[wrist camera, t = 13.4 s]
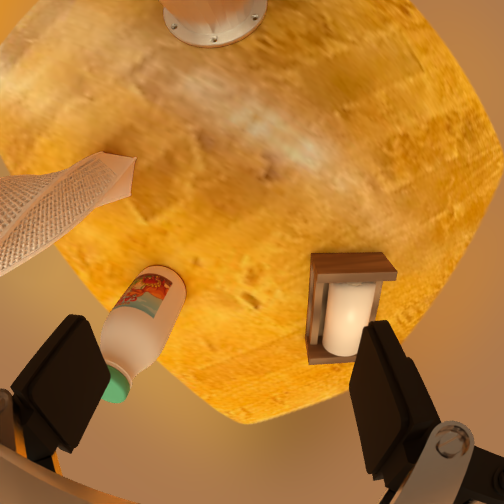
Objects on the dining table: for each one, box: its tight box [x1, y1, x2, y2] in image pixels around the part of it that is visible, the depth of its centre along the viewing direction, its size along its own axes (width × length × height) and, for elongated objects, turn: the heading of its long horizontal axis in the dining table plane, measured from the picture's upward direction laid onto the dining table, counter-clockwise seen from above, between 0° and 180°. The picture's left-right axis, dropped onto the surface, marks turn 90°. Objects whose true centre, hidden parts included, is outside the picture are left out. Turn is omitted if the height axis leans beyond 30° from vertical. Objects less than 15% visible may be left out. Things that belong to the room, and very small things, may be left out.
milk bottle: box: [100, 266, 186, 403], centre depth 32 cm, size 8×8×20 cm
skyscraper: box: [0, 151, 137, 276], centre depth 22 cm, size 8×8×28 cm
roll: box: [322, 281, 376, 356], centre depth 37 cm, size 10×6×6 cm, turn 2°
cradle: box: [305, 252, 397, 365], centre depth 38 cm, size 14×10×6 cm
